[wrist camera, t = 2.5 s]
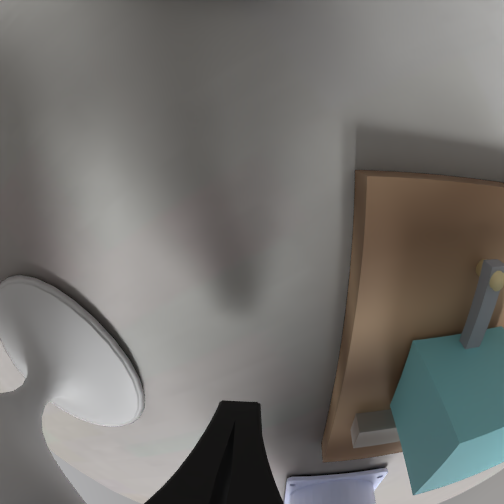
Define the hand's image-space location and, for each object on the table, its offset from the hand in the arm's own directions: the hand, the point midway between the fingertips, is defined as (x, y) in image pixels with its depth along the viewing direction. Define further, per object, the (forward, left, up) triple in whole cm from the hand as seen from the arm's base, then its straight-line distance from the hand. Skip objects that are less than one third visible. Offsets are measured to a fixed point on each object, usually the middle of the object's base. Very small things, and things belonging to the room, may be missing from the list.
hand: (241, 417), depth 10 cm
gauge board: (0, -16, -4) cm, 16 cm away
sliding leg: (+2, -9, -2) cm, 9 cm away
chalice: (-2, +12, -4) cm, 13 cm away
